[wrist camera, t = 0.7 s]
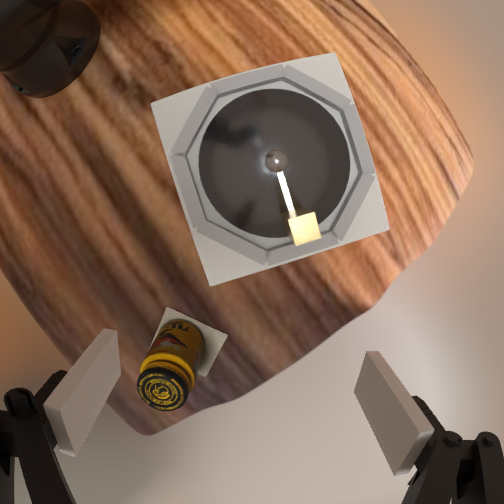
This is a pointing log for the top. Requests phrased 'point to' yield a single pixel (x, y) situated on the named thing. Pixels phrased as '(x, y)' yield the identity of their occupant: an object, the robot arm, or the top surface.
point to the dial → (274, 164)
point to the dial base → (219, 229)
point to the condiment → (177, 360)
